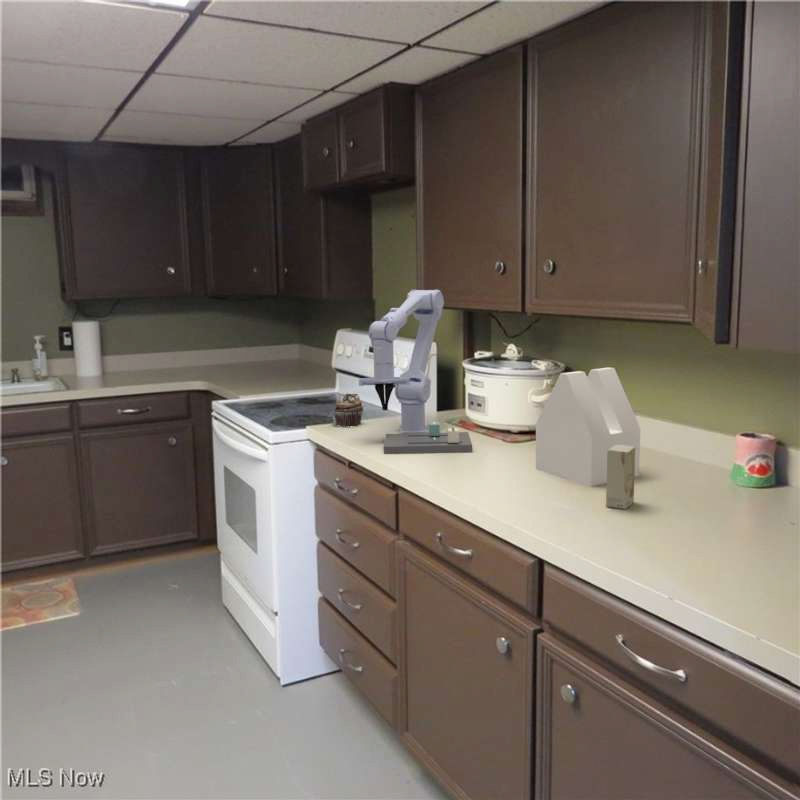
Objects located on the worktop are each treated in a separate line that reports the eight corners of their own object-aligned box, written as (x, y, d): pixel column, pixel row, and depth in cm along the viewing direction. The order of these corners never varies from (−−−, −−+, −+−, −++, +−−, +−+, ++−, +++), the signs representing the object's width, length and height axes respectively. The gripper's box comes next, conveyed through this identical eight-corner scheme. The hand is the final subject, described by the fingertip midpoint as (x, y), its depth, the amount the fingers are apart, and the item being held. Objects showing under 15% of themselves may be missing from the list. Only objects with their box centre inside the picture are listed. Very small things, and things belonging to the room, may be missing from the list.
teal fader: (429, 432, 224) (428, 421, 223) (439, 432, 224) (439, 421, 223) (429, 435, 220) (429, 424, 219) (439, 435, 220) (439, 424, 219)
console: (386, 440, 226) (385, 433, 226) (468, 438, 226) (468, 431, 225) (384, 454, 210) (383, 446, 210) (472, 452, 210) (472, 444, 210)
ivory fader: (447, 439, 215) (447, 427, 214) (458, 439, 215) (458, 427, 214) (448, 442, 211) (448, 430, 210) (459, 442, 211) (459, 430, 210)
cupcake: (338, 421, 256) (337, 391, 254) (366, 421, 254) (365, 391, 252) (330, 427, 246) (328, 396, 245) (359, 428, 244) (358, 396, 243)
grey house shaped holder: (535, 468, 192) (536, 369, 188) (581, 459, 200) (583, 363, 195) (590, 487, 176) (593, 378, 171) (638, 476, 183) (642, 372, 179)
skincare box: (626, 510, 159) (627, 452, 157) (605, 507, 161) (606, 450, 159) (634, 501, 164) (636, 445, 162) (614, 498, 167) (615, 443, 164)
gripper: (357, 365, 217) (359, 412, 220) (408, 364, 217) (410, 411, 219) (359, 362, 224) (360, 408, 227) (409, 361, 224) (410, 407, 226)
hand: (385, 409), depth 223 cm, fingers closed
